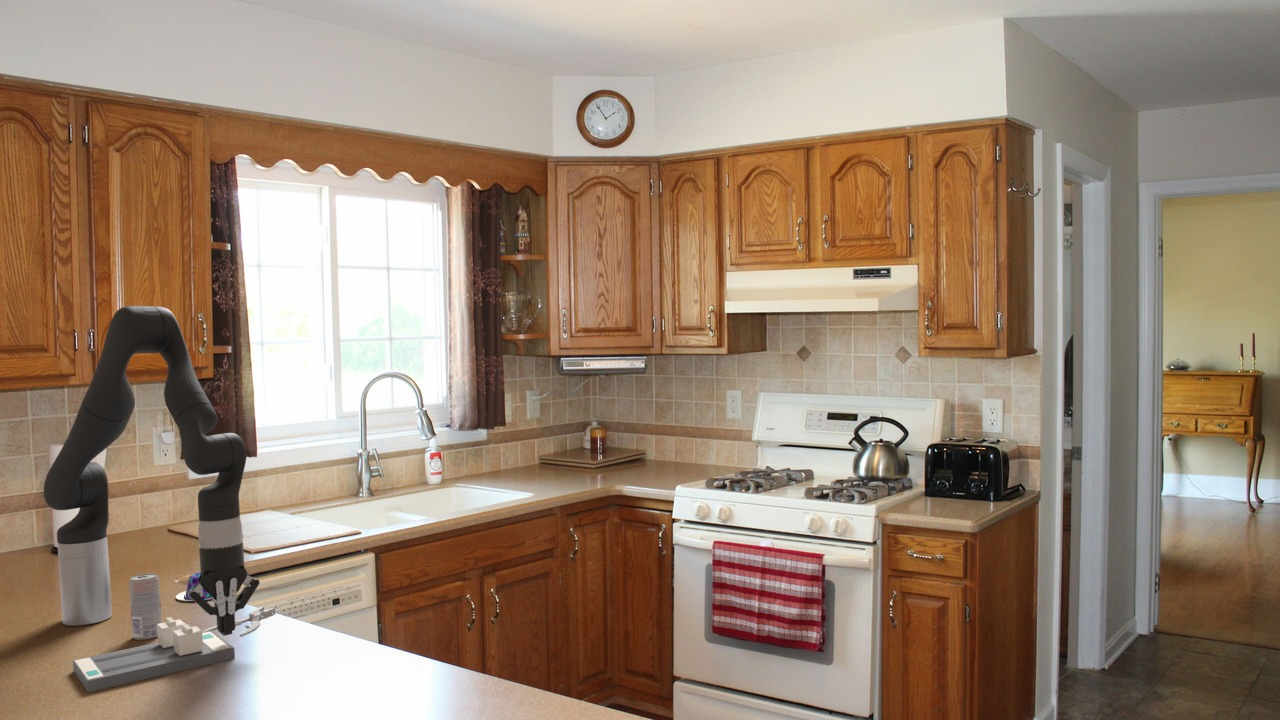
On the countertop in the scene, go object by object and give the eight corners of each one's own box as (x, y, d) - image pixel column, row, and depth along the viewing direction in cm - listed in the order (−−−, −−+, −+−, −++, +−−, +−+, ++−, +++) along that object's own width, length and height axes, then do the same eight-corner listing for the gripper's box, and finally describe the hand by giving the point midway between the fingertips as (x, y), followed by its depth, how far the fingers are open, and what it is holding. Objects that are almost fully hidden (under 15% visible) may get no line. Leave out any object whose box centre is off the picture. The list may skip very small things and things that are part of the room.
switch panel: (73, 671, 181) (72, 659, 181) (213, 640, 196) (212, 629, 196) (88, 692, 170) (87, 680, 170) (234, 658, 185) (234, 646, 185)
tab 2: (174, 650, 184) (172, 626, 183) (197, 645, 186) (195, 621, 186) (179, 655, 180) (178, 631, 180) (203, 650, 183) (201, 626, 183)
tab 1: (158, 642, 188) (156, 619, 188) (181, 638, 191) (179, 615, 191) (163, 648, 185) (161, 624, 185) (186, 643, 188) (185, 619, 188)
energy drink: (156, 630, 204) (153, 571, 204) (166, 635, 201) (162, 575, 200) (128, 636, 201) (124, 577, 200) (137, 642, 197) (134, 581, 196)
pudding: (172, 606, 223) (171, 583, 222) (179, 593, 234) (177, 570, 234) (230, 600, 226) (229, 576, 226) (234, 586, 238) (233, 564, 237)
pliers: (200, 627, 201) (248, 605, 215) (200, 635, 201) (249, 613, 215) (242, 630, 198) (288, 607, 213) (242, 638, 198) (289, 615, 213)
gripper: (251, 533, 194) (256, 622, 194) (177, 544, 185) (183, 637, 186) (264, 539, 188) (269, 630, 188) (188, 551, 180) (194, 647, 180)
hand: (226, 634), depth 187 cm, fingers closed
